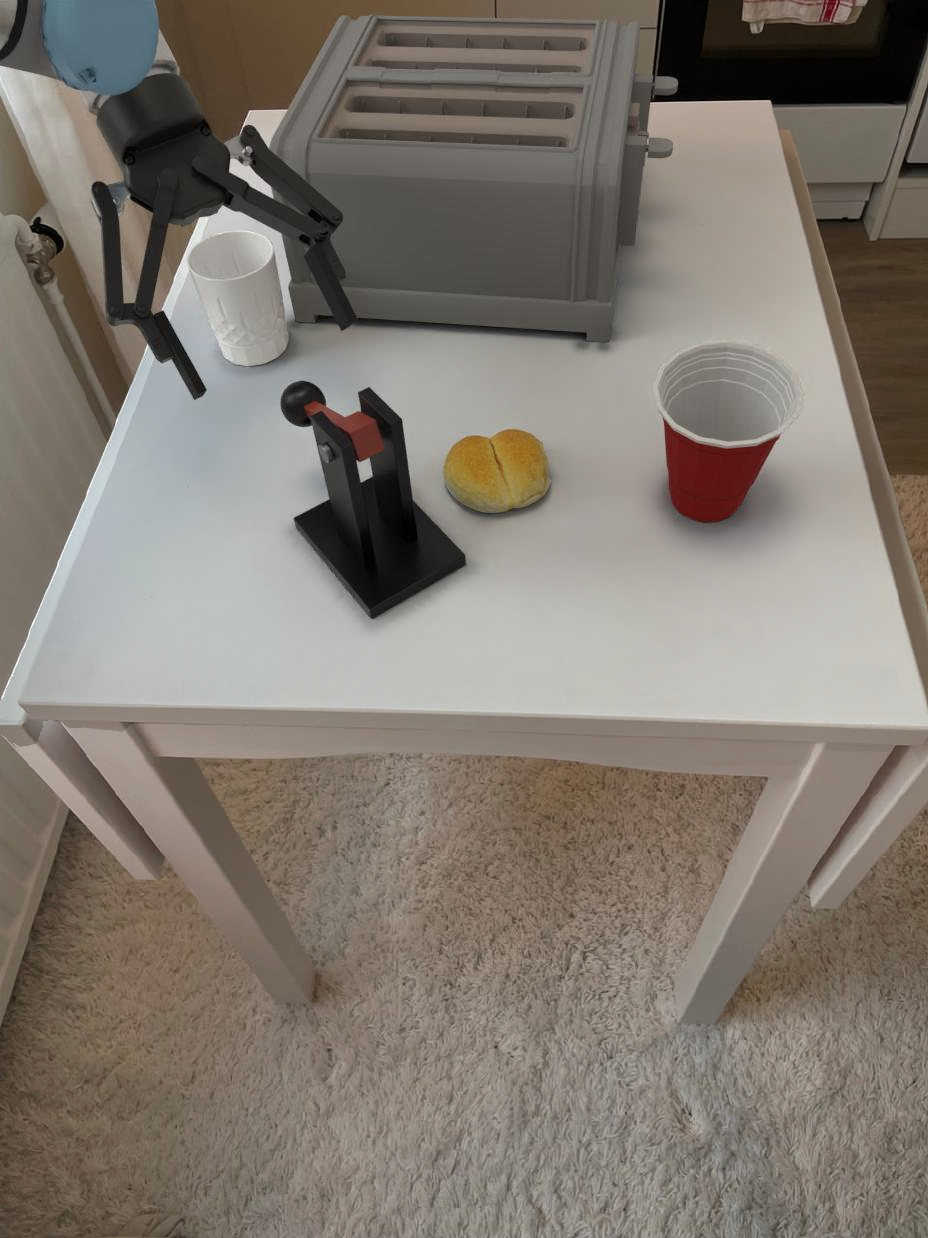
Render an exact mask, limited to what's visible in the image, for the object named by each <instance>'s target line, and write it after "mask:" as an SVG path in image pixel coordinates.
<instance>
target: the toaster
mask: <svg viewBox="0 0 928 1238" xmlns="http://www.w3.org/2000/svg"><path fill="white" fill-rule="evenodd" d="M640 31H641V23H640V22H639V21H636V20H635V21H634V20H633V21H630V22H629V24H627V25H621V24H620V22H619V21H618V20H609V19H608V18H605V19H604V20H603V21H601V19H555V18H553V19H551V18H505V17H504V18H503V17H502V18H501V17H459V16H457V17H455V16H453V17H452V16H414V15H413V16H407V15H375V14H373V13H371V14H368V15H360V16H358V17H357V19H352V18H351V16H350V15H346V14H345V15H341V16H339V17H338V19H337V20H336V22H335V24H334V25H333V27H332V29H331V31H330V33H329V34H328V36H327V38H326V40H325V42H324V44H323V46H321V49H320V51H319V53H318V54H317V56H316V58H315V59H314V61H313V63H312V65H311V67H310V69H309V70H308V72H307V74H306V76H305V78H304V80H303V81H302V83H301V84H300V86H299V88H298V90H297V92H296V94H295V95H294V97H293V98H292V101H291V103H290V104H289V106H288V108H287V110H286V112H285V113H284V115H283V117H282V119H281V121H280V123H279V124H278V126H277V128H276V130H275V131H274V133H273V135H272V137H271V139H270V141H269V142H270V143H269V146H268V148H269V150H271V151H272V152H273V153H274V154H275V155H276V156H277V157H279V158H280V159H281V160H282V161H283V162H284V163H286V164H287V165H288V166H289V167H290V168H291V169H292V170H294V171H295V172H296V173H297V174H298V175H299V176H301V177H302V178H303V179H304V180H305V181H306V182H307V183H309V184H310V185H311V186H312V187H313V188H314V189H316V190H317V191H318V192H319V193H320V194H321V195H322V196H324V197H325V198H326V199H327V200H328V201H329V202H331V203H332V204H333V205H334V206H335V207H336V208H337V209H339V210H340V211H341V212H342V214H343V221H342V223H341V224H340V225H339V227H338V228H337V229H336V231H335V232H334V233H333V234H332V235H331V237H330V240H331V243H332V246H333V248H334V250H335V252H336V254H337V256H338V258H339V260H340V262H341V264H342V266H343V268H344V270H345V273H346V278H345V279H344V281H343V282H342V283H340V285H341V287H342V289H343V291H344V293H345V295H346V297H347V299H348V301H349V303H350V305H351V307H352V309H353V311H354V313H355V314H356V316H357V318H358V319H372V320H373V319H374V320H389V321H390V320H391V321H405V322H418V323H419V322H421V323H435V324H436V323H437V324H450V325H451V324H452V325H467V326H480V327H494V328H495V327H496V328H497V327H498V328H510V329H511V328H512V329H528V330H543V331H559V332H573V333H586V340H585V341H586V342H594V343H595V342H596V343H608V342H609V341H610V340H611V335H612V327H613V316H614V309H615V300H616V293H617V286H618V285H617V284H618V276H619V269H620V268H619V267H620V260H621V253H622V246H624V247H634V246H635V245H636V240H637V239H636V238H637V230H638V229H637V228H638V219H639V210H640V201H641V192H642V183H643V182H642V181H643V175H644V168H645V166H646V165H645V164H646V158H647V159H666V158H670V157H671V156H672V154H673V151H674V142H673V141H672V140H671V139H669V138H665V137H650V132H649V131H648V128H649V120H650V119H649V118H650V110H651V101H652V100H651V99H652V91H653V95H654V96H671V95H674V94H676V93H677V91H678V87H679V80H678V79H677V78H675V77H673V76H661V75H660V76H658V75H656V76H655V81H654V74H649V73H648V74H647V73H646V74H644V73H643V74H642V73H637V65H638V53H639V43H640V34H641V33H640ZM646 154H647V156H646ZM270 189H271V194H272V198H273V199H275V200H276V201H278V202H280V203H282V204H284V205H286V206H288V207H289V208H291V209H293V210H295V211H297V212H299V213H301V212H300V211H299V210H298V209H297V208H295V207H294V206H293V205H292V204H291V203H290V202H288V201H287V200H286V199H285V198H284V197H282V196H281V195H280V194H279V193H278V192H277V191H275V190H274V189H273V188H272V187H271V186H270ZM301 214H302V213H301ZM302 215H304V214H302ZM304 216H305V215H304ZM280 235H281V239H282V243H283V249H284V252H285V257H286V261H287V266H288V271H289V276H290V281H289V283H288V286H287V287H288V293H289V297H290V302H291V307H292V311H293V315H294V321H295V322H298V323H308V324H309V323H311V324H315V323H316V322H317V320H318V317H319V316H329V317H334V316H333V314H332V312H331V310H330V308H329V306H328V304H327V302H326V300H325V298H324V296H323V294H322V292H321V290H320V288H319V286H318V284H317V282H316V280H315V278H314V276H313V274H312V272H311V270H310V268H309V266H308V264H307V263H306V261H305V259H304V256H305V254H306V253H307V251H308V250H309V248H308V247H306V246H304V245H303V244H301V243H299V242H297V241H295V240H293V239H291V238H289V237H287V236H285V235H283V234H282V233H280Z"/></svg>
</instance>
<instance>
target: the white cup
mask: <svg viewBox="0 0 928 1238" xmlns="http://www.w3.org/2000/svg"><path fill="white" fill-rule="evenodd" d="M276 258H277V257H276V254H275V248H274V245H273V243H272V241H271V240H270V238H268V237H267V236H265V235H264V234H262V233H259V232H256V231H252V230H245V229H235V230H227V231H221V232H218V233H214V234H211V235H210V236H207V237H206V238H204V239H202V240H200V241H199V242H197V243H196V244H194V246H193V247H192V248H191V249H190V251H189V252H188V254H187V257H186V265H187V268H188V271H189V273H190V276H191V279H192V281H193V284H194V287H195V289H196V292H197V295H198V298H199V300H200V304H201V306H202V308H203V310H204V313H205V316H206V318H207V319H206V320H207V321H208V323H209V326H210V328H211V331H212V333H213V334H214V336H215V339H216V341H217V345H218V347H219V349H220V352H221V353H222V356H223V358H224V359H225V360H227V361H229V362H230V363H232V364H234V365H238V366H244V367H254V366H260V365H265V364H267V363H269V362H271V361H273V360H275V359H277V358H279V357H280V356H281V355H282V354H283V353H284V352H285V351H286V350H287V348H288V344H289V338H290V336H289V331H288V325H287V322H286V310H285V305H284V297H283V291H282V287H281V281H280V280H281V279H280V275H279V269H278V265H277V259H276Z"/></svg>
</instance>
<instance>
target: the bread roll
mask: <svg viewBox="0 0 928 1238" xmlns="http://www.w3.org/2000/svg"><path fill="white" fill-rule="evenodd" d="M442 475H443V480H444V481H443V482H444V484H445V487H446V489H447V491H448V492H449V493H450V494H451V495H452V497H454V499H455V500H457V501H458V502H459V503H461V504H462V505H464V506H465V507H467V508H470V509H472V510H474V511H477V512H480V513H486V514H495V513H496V514H498V513H504V512H508V511H510V510H512V509H522V508H526V507H528V506H530V505H533V504H534V503H536V502H538V501H539V500H540V499H542V498H543V497H544V496H545V495H546V494H547V493H548V491H549V488H550V486H551V484H552V480H551V476H550V468H549V461H548V456H547V454H546V450H545V446H544V442H543V441H542V440H540V439H539V438H538V437H537V436H536V435H534V434H532V432H528V431H525V430H521V429H517V428H507V429H504V430H500V431H499V432H497V433H495V434H494V435H492V436H490V437H486V436H483V435H467V436H465V437H463V438H461V439H459V440H458V441H456V442H455V444H453V445H452V446H451V448H450V450H449V451H448V453H447V455H446V458H445V461H444V465H443V470H442Z"/></svg>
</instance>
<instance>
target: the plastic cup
mask: <svg viewBox="0 0 928 1238" xmlns="http://www.w3.org/2000/svg"><path fill="white" fill-rule="evenodd" d="M652 390H653V396H654V400H655V404H656V405H655V406H656V409H657V412H658V414H659V415H660V416H661V417H662V422H663V429H664V430H663V431H664V445H665V462H666V468H667V474H668V475H667V476H668V478H667V479H668V491H669V492H668V493H669V496H670V500H671V503H672V505H673V507H674V508H675V509H676V510H677V511H678V513H679V514H680V515H683V516H684V517H686V518H687V519H689V520H691V521H697V522H701V523H719V522H721V521H724V520H726V519H729V518H731V516H732V515H734V513H735V512H736V511H737V510H738V509H739V507H740V506H741V505H742V504H743V502H744V500H745V498H746V496H747V494H748V492H749V491H750V489H751V487H752V486H753V485H754V484H755V482H756V480H757V478H758V476H759V474H760V472H761V470H762V469H763V468H764V465H765V463H766V461H767V459H768V457H769V456H770V454H771V452H772V450H773V448H774V446H775V444H776V442H778V440H779V439H780V437H781V436H782V434H784V432H785V431H786V430H787V429H788V428H789V427H790V426H791V425H792V424H793V423H794V422H795V421H796V420H797V419H798V418H799V416H800V415H801V410H802V405H803V402H804V400H805V399H804V398H805V394H806V393H805V390H804V387H803V384H802V381H801V378H800V375H799V372H797V370H796V369H795V368H793V367H792V366H791V364H790V363H789V362H788V361H787V360H785V358H784V357H783V356H782V355H781V354H778V353H776V352H774V351H772V350H769V349H767V348H766V347H764V346H761V345H759V344H758V343H751V342H745V341H739V340H733V339H721V340H719V339H717V340H711V341H710V340H709V341H700V342H697V343H695V344H693V345H690V346H688V347H685V348H683V349H681V350H678V351H676V352H675V353H674V354H672V356H671V357H669V359H667V360H666V361H665V362H664V363H663V364H662V365H661V366H660V367H659V368H658V372H657V374H656V377H655V380H654V383H653V385H652Z"/></svg>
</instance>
